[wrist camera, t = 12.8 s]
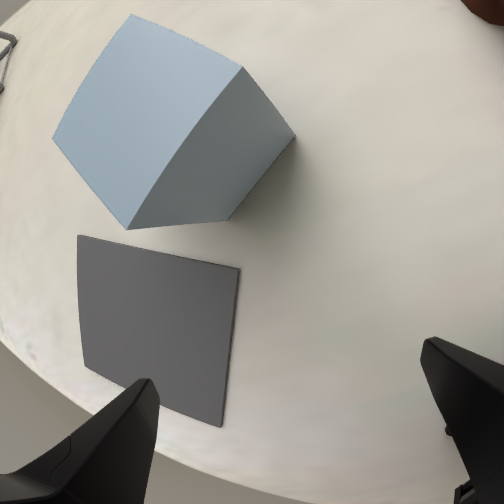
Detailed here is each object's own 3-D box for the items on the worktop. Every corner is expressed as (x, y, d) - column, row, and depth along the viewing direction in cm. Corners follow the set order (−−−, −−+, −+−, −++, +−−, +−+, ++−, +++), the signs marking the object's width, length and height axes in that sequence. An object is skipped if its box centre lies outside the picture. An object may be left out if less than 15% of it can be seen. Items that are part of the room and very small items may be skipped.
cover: (295, 135, 18) (242, 66, 9) (226, 220, 20) (126, 230, 11) (217, 81, 19) (131, 14, 10) (159, 159, 21) (51, 138, 12)
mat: (239, 268, 20) (237, 269, 20) (222, 425, 23) (220, 428, 22) (80, 234, 25) (77, 235, 24) (87, 364, 27) (84, 366, 27)
